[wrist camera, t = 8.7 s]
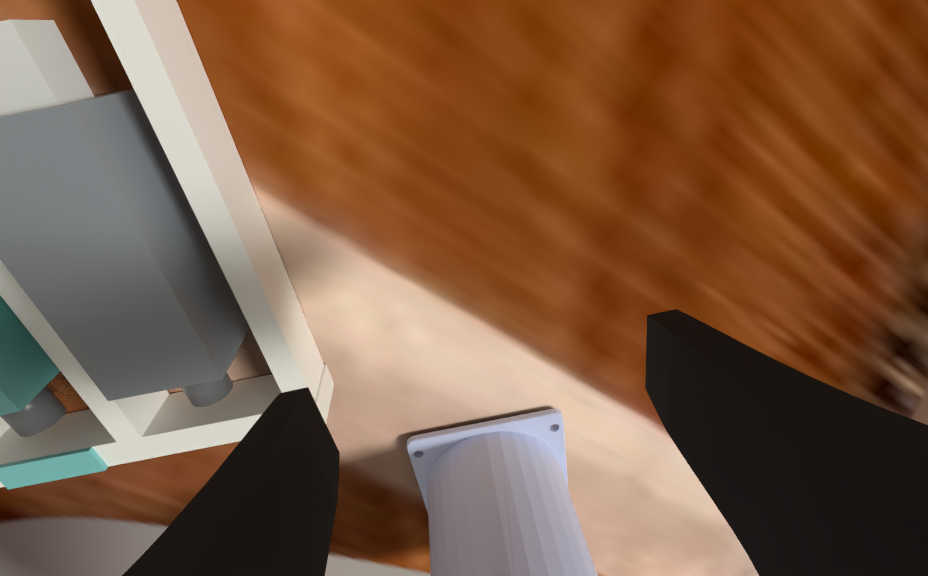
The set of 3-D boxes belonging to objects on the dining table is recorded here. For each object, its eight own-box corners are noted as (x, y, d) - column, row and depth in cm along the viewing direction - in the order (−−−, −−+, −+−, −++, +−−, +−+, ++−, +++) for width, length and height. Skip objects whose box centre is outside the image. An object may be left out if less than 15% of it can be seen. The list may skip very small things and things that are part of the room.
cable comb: (334, 383, 21) (324, 428, 19) (6, 446, 21) (-43, 499, 19) (149, -77, 13) (90, -100, 10) (-406, 23, 12) (-593, 23, 10)
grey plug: (273, 352, 20) (245, 420, 17) (184, 369, 20) (137, 440, 17) (113, 14, 14) (14, 11, 10) (-20, 38, 14) (-164, 44, 10)
